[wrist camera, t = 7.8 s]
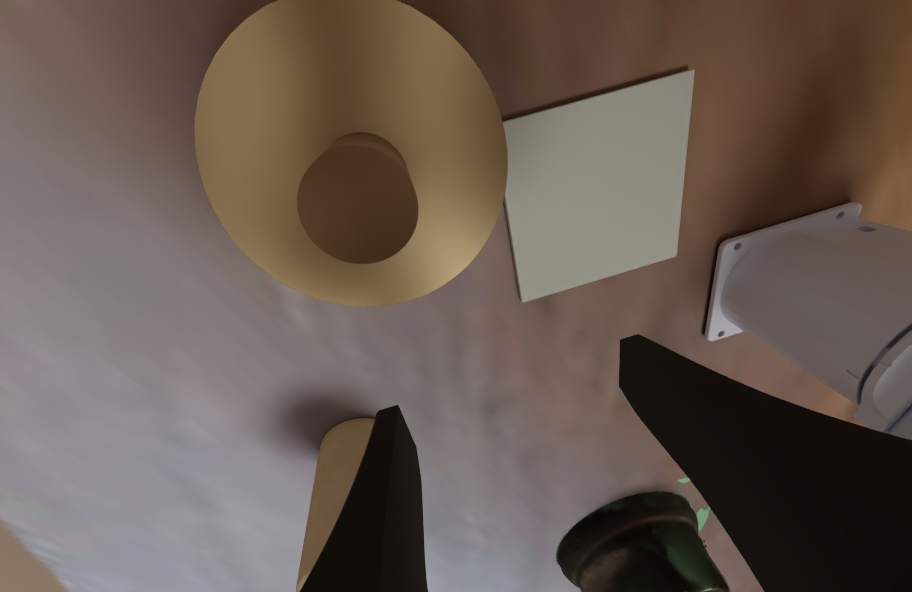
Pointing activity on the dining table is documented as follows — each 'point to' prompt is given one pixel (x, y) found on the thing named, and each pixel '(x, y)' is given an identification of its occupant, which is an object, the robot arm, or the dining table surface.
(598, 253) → the mat
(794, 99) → the dining table surface
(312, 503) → the candle
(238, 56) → the lid
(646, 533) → the black rounded piece
